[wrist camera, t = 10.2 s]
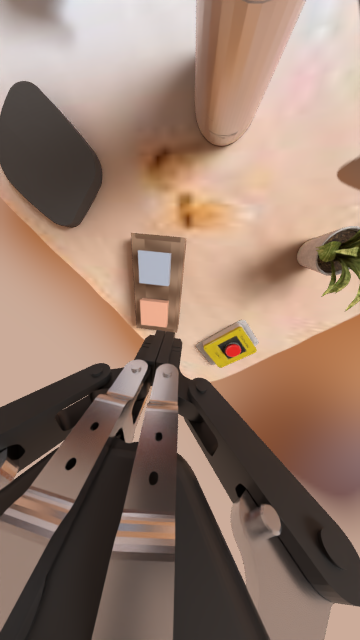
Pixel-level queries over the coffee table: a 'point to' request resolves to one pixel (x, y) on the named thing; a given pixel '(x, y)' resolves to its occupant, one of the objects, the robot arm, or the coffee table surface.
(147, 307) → the terracotta key
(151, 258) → the slate-blue key
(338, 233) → the house plant
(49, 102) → the media streaming box
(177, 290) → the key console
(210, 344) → the emergency button
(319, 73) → the coffee table surface
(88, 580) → the robot arm
